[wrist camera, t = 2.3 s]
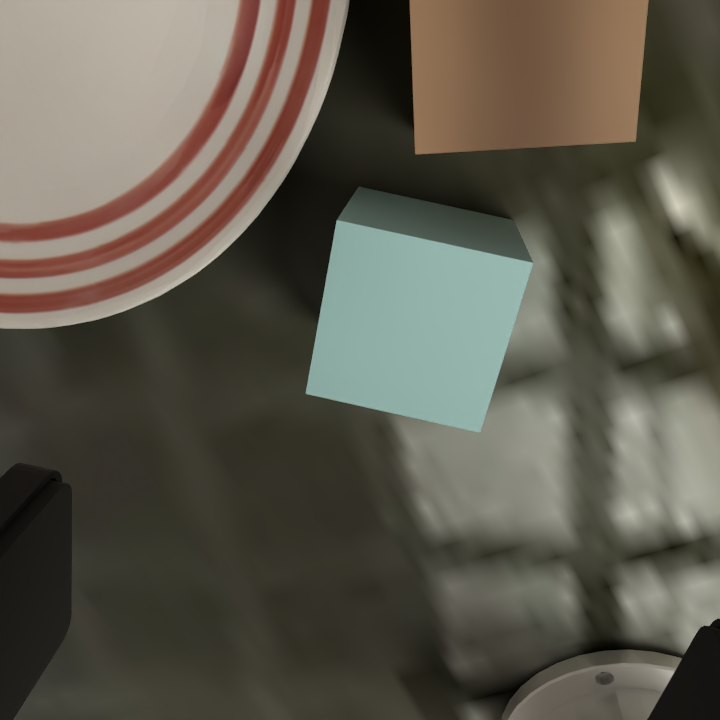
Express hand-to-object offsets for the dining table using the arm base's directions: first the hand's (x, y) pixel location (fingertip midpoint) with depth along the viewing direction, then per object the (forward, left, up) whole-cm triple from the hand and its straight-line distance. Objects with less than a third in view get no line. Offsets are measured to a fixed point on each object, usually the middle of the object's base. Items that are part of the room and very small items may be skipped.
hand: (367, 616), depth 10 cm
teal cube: (0, 0, -18) cm, 18 cm away
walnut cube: (-1, -9, -18) cm, 20 cm away
